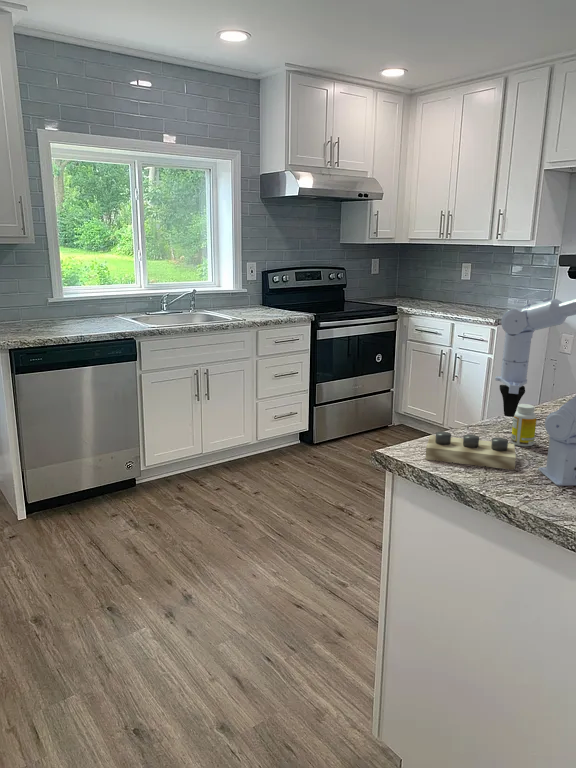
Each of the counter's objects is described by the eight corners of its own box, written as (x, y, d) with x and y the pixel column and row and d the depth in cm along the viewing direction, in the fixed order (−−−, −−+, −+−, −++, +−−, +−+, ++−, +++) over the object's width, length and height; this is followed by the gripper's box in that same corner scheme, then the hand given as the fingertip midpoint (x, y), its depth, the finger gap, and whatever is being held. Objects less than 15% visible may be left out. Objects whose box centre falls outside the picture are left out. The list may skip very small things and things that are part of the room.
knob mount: (512, 455, 141) (514, 443, 140) (514, 469, 132) (515, 457, 131) (429, 446, 147) (430, 435, 147) (425, 459, 138) (426, 447, 137)
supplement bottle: (537, 444, 149) (542, 406, 147) (526, 448, 146) (530, 410, 143) (517, 438, 153) (521, 401, 151) (506, 443, 150) (510, 405, 148)
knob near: (505, 458, 139) (508, 438, 137) (506, 464, 135) (508, 443, 134) (490, 457, 140) (492, 436, 138) (490, 462, 136) (492, 441, 135)
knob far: (450, 452, 143) (451, 432, 141) (449, 457, 139) (450, 436, 138) (435, 450, 144) (436, 430, 143) (433, 455, 140) (435, 435, 139)
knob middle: (477, 455, 141) (479, 435, 139) (477, 460, 137) (479, 439, 136) (462, 453, 142) (463, 433, 141) (461, 458, 138) (463, 438, 137)
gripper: (497, 353, 142) (491, 405, 146) (497, 364, 129) (491, 422, 132) (527, 355, 140) (521, 409, 143) (531, 367, 127) (524, 426, 130)
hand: (509, 415), depth 138 cm, fingers closed
